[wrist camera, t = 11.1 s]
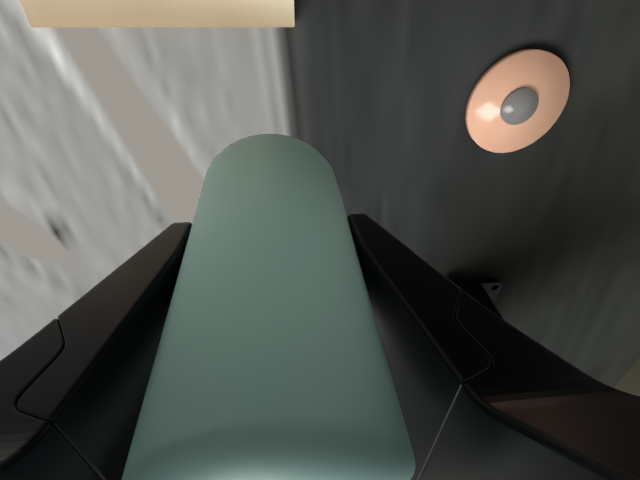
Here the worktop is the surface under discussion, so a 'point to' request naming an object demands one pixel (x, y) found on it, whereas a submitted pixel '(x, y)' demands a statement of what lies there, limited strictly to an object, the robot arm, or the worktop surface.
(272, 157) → the peg
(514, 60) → the peach flat disc
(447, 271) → the worktop surface
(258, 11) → the board
